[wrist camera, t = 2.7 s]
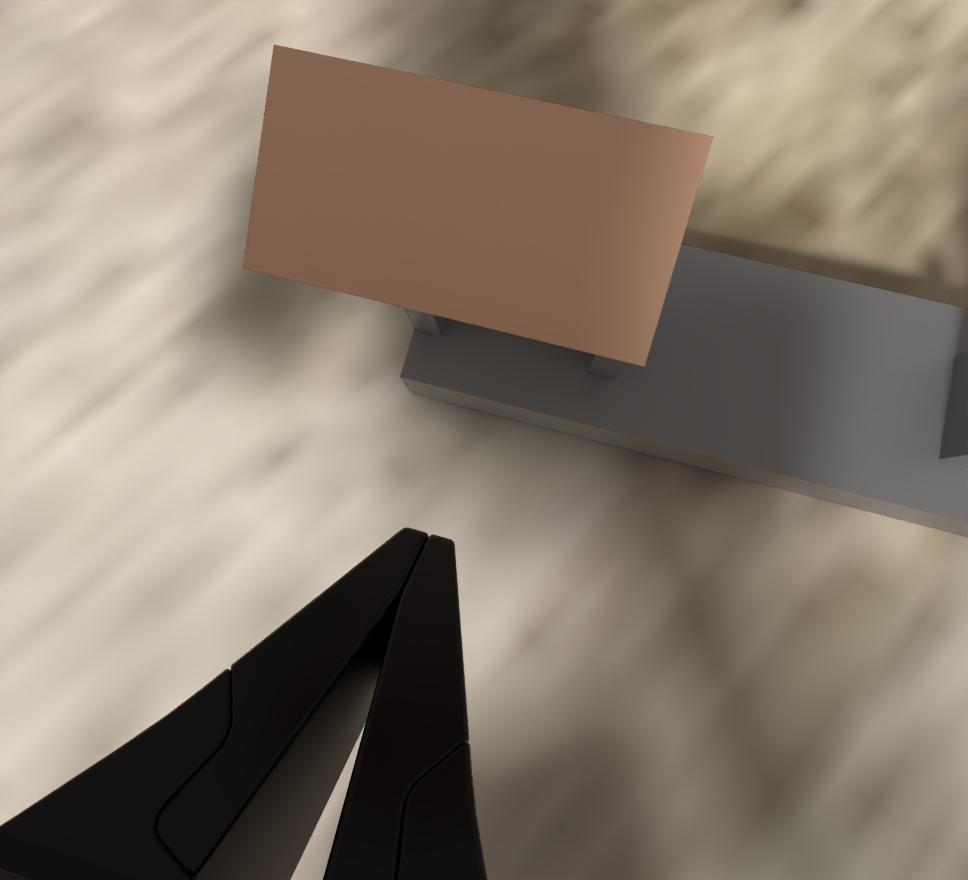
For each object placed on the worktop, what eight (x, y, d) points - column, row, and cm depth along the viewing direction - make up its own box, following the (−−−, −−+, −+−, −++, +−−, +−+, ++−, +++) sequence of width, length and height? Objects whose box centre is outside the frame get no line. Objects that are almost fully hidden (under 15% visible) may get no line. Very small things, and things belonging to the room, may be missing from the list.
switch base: (1090, 568, 17) (1299, 582, 12) (411, 393, 19) (381, 350, 14) (1112, 378, 18) (1314, 326, 13) (461, 227, 19) (447, 137, 15)
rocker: (588, 342, 16) (645, 366, 5) (454, 309, 17) (242, 268, 6) (607, 271, 16) (713, 136, 5) (470, 240, 16) (273, 44, 5)
